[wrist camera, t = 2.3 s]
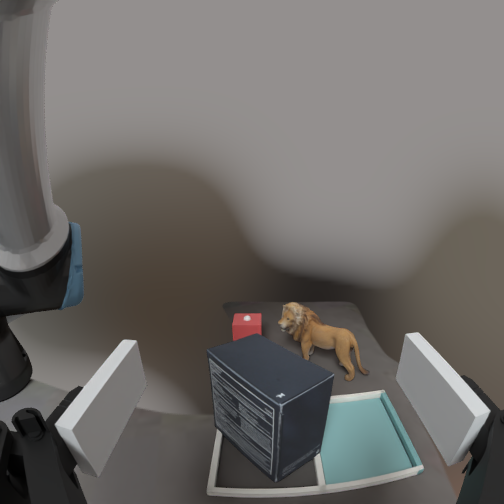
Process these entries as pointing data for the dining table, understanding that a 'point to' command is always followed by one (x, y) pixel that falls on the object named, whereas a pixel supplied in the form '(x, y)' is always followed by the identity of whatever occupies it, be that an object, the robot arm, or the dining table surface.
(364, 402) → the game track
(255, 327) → the red block
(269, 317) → the dining table surface
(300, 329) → the lion figurine
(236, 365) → the small box
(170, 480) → the dining table surface
